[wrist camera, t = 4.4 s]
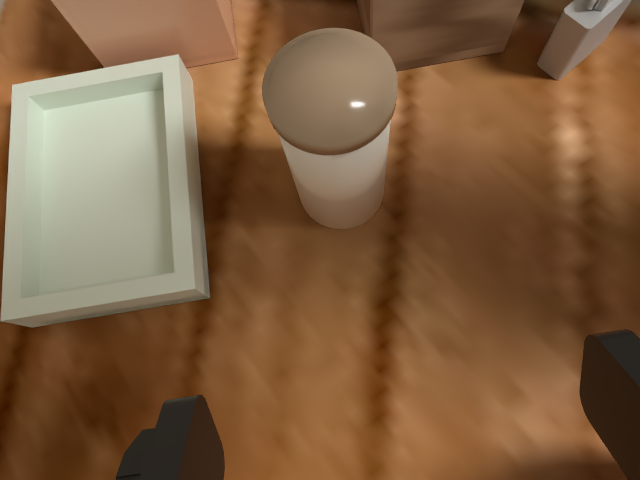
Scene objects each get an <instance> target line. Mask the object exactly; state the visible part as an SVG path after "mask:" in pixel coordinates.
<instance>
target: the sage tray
mask: <svg viewBox="0 0 640 480" xmlns="http://www.w3.org/2000/svg"><path fill="white" fill-rule="evenodd" d="M208 298H210V288H209V276H208V264H207V251H206V239H205V226H204V214H203V202H202V189H201V177H200V165H199V152H198V140H197V128H196V115H195V103H194V90H193V80H192V78H191V76H190V74H189V73H188V71H187V69H186V67H185V65H184V64H183V62H182V60H181V58H180V56H179V54H177V55H172V56H166V57H161V58H155V59H150V60H145V61H139V62H134V63H128V64H123V65H118V66H112V67H107V68H102V69H96V70H91V71H85V72H80V73H75V74H69V75H64V76H58V77H53V78H48V79H42V80H37V81H31V82H26V83H21V84H15V85H12V104H11V124H10V144H9V164H8V183H7V203H6V223H5V242H4V262H3V282H2V301H1V321H2V322H7V323H12V324H17V325H22V326H27V327H32V328H33V327H39V326H45V325H51V324H57V323H63V322H69V321H75V320H81V319H87V318H93V317H99V316H105V315H111V314H117V313H123V312H130V311H136V310H142V309H148V308H154V307H160V306H166V305H172V304H178V303H184V302H190V301H196V300H202V299H208Z"/></svg>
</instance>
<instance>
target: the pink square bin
mask: <svg viewBox="0 0 640 480" xmlns="http://www.w3.org/2000/svg"><path fill="white" fill-rule="evenodd" d="M51 1H52V3H53V4H54V5H55V6H56V8H57V9H58V10H59V11H60V13H61V14H62V15H63V16H64V18H65V19H66V20H67V21H68V23H69V24H70V25H71V26H72V28H73V29H74V30H75V31H76V33H77V34H78V35H79V36H80V38H81V39H82V40H83V41H84V43H85V44H86V45H87V46H88V48H89V49H90V50H91V51H92V53H93V54H94V55H95V56H96V58H97V59H98V60H99V61H100V63H101V64H102V65H103V67H104V68H107V67H112V66H118V65H123V64H128V63H134V62H139V61H145V60H150V59H155V58H161V57H166V56H172V55H177V54H179V56H180V58H181V60H182V62H183V64H184V65H185V67H186V68H188V67H194V66H199V65H205V64H210V63H216V62H221V61H226V60H232V59H237V58H238V54H237V46H236V37H235V28H234V20H233V11H232V3H231V0H51Z"/></svg>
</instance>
